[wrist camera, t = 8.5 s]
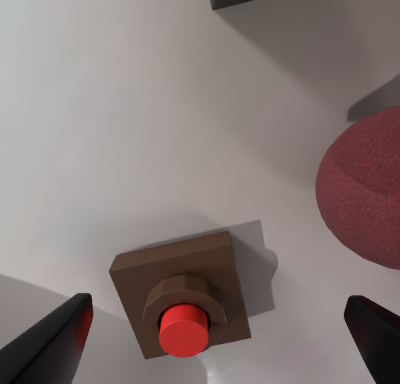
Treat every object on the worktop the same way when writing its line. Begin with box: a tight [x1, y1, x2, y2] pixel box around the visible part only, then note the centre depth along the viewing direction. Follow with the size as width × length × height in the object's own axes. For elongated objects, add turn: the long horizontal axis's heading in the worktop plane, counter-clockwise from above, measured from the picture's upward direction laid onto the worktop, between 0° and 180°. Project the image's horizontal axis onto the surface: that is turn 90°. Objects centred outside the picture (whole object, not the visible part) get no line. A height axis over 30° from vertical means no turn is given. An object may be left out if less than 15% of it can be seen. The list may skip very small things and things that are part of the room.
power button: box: [159, 303, 208, 357], centre depth 19 cm, size 4×4×2 cm
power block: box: [109, 231, 251, 359], centre depth 21 cm, size 10×10×4 cm
